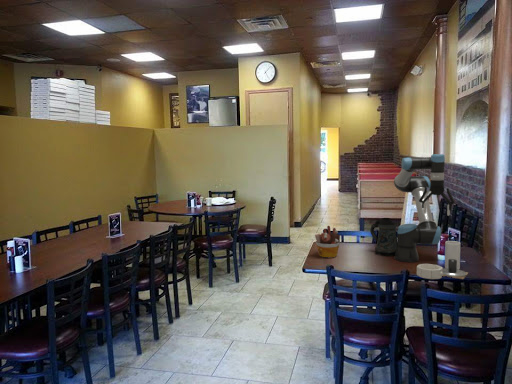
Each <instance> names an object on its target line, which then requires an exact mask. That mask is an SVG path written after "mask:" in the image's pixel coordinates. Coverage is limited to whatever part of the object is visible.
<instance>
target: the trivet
mask: <svg viewBox="0 0 512 384" xmlns="http://www.w3.org/2000/svg"><path fill="white" fill-rule="evenodd" d="M465 272H466V276H464V277H452V278H454V279H459V280H464V279H465V278H466V277H467V275H469V272H467V271H465ZM443 277H445V275H443ZM446 278H450V277H449V276H447V277H446Z"/></svg>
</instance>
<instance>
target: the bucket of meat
mask: <svg viewBox="0 0 512 384" xmlns="http://www.w3.org/2000/svg"><path fill="white" fill-rule="evenodd" d="M336 229H337V228H336V227H333V229H332V232H331V226H330V225H327V227H326V228H323V232H322V233H317V234H315V235H314V238H315V240H316V241H315V243H316V248H317V252H318V256H319V257H321V256H322V257H321V258H323V257H334V258H336V257H337V256H338V252H339V248H340V243H341V241H340V240H341V235H340V234H338V230H336ZM335 256H336V257H335Z"/></svg>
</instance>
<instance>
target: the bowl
mask: <svg viewBox="0 0 512 384" xmlns="http://www.w3.org/2000/svg"><path fill="white" fill-rule="evenodd" d="M443 269H444V267H442V266H441V265H439V264H431V263H419V264H418V265H417V266H416V276H417V277H419V278H423V279H428V280H440V279H442V278H443V277H444V276H443ZM442 276H443V277H442Z"/></svg>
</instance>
